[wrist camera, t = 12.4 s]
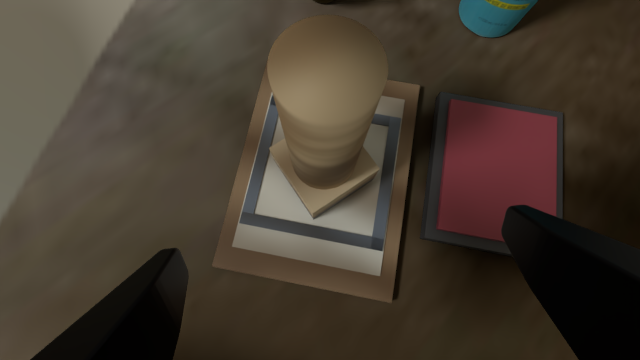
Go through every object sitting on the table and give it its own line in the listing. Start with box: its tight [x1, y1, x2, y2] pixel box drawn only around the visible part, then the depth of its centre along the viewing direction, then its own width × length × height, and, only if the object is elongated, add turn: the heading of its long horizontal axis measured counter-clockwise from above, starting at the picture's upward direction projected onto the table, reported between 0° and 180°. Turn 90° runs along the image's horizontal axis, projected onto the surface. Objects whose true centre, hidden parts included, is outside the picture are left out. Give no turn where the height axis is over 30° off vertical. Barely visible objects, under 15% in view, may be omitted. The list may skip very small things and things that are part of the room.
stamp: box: [267, 15, 388, 220], centre depth 17 cm, size 5×5×12 cm
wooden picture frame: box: [212, 60, 420, 303], centre depth 23 cm, size 16×12×1 cm
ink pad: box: [420, 92, 563, 257], centre depth 23 cm, size 11×9×1 cm
